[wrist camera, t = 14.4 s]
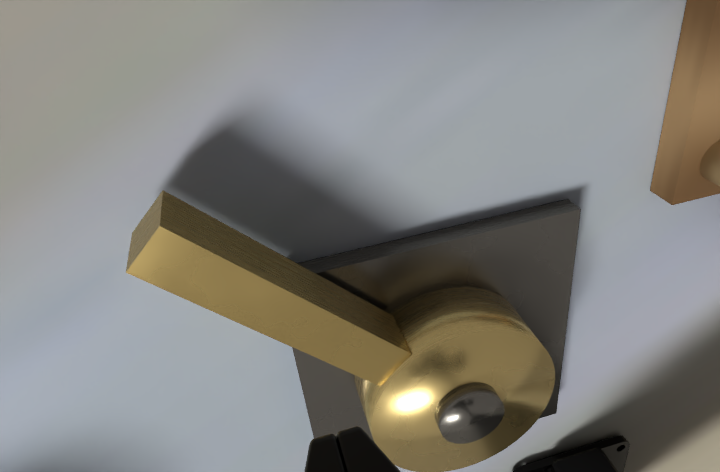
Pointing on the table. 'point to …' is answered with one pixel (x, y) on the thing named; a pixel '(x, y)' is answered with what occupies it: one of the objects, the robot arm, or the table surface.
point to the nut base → (445, 270)
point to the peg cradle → (692, 111)
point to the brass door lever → (366, 338)
